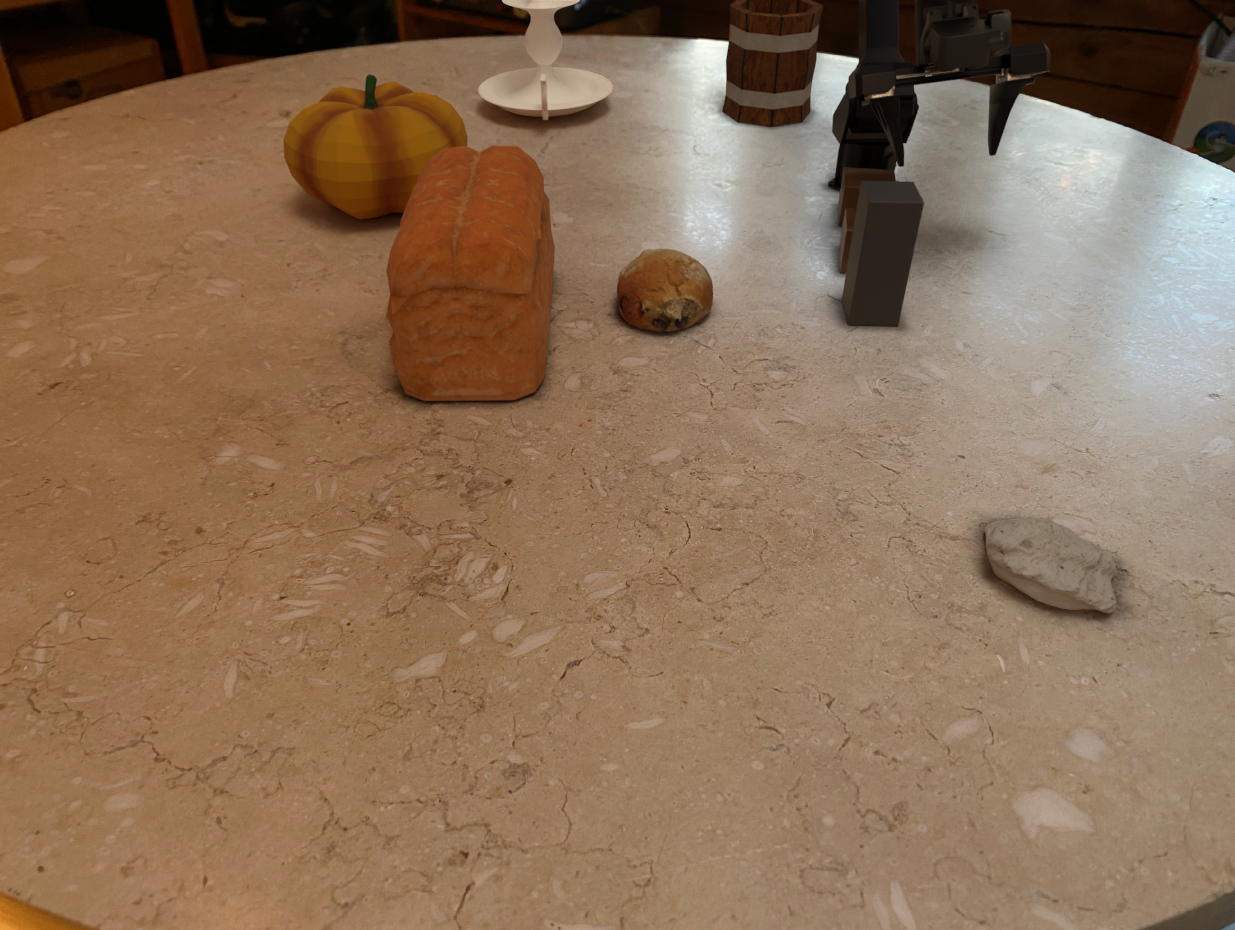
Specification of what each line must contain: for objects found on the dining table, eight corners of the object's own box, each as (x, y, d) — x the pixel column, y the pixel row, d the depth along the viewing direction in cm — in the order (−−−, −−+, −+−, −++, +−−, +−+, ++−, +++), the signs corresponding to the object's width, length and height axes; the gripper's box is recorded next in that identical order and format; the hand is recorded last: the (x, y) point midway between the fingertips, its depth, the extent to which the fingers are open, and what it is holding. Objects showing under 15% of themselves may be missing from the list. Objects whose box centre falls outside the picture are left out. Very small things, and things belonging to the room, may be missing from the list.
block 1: (839, 248, 107) (845, 207, 104) (892, 252, 107) (900, 211, 103) (839, 273, 103) (846, 230, 100) (895, 277, 102) (904, 234, 99)
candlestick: (473, 143, 134) (451, -81, 116) (484, 88, 153) (466, -111, 136) (617, 140, 135) (617, -83, 117) (609, 86, 154) (608, -113, 136)
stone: (1169, 592, 62) (1038, 576, 60) (1129, 637, 65) (1002, 623, 63) (1099, 492, 70) (980, 475, 68) (1066, 536, 73) (951, 521, 71)
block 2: (837, 206, 117) (843, 167, 113) (887, 209, 116) (894, 170, 113) (838, 226, 112) (844, 186, 109) (889, 230, 111) (897, 189, 108)
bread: (390, 404, 84) (360, 248, 74) (432, 265, 104) (413, 129, 95) (547, 402, 84) (537, 246, 74) (558, 264, 104) (551, 128, 95)
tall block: (841, 301, 98) (861, 180, 90) (889, 302, 98) (913, 181, 90) (847, 325, 94) (869, 201, 86) (898, 326, 94) (924, 202, 86)
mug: (817, 127, 139) (831, 17, 129) (725, 126, 139) (733, 17, 129) (798, 85, 154) (810, -15, 145) (716, 85, 154) (722, -15, 145)
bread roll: (715, 332, 100) (728, 256, 98) (694, 340, 90) (708, 256, 88) (627, 317, 102) (638, 243, 100) (598, 323, 93) (608, 241, 91)
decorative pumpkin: (292, 181, 123) (265, 62, 114) (458, 161, 129) (445, 45, 119) (301, 246, 108) (271, 115, 99) (489, 220, 114) (477, 93, 104)
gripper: (861, -3, 86) (867, 173, 91) (1073, -33, 84) (1068, 149, 89) (844, 14, 97) (851, 171, 102) (1032, -12, 95) (1030, 150, 99)
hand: (946, 161), depth 98 cm, fingers open, 9 cm apart
